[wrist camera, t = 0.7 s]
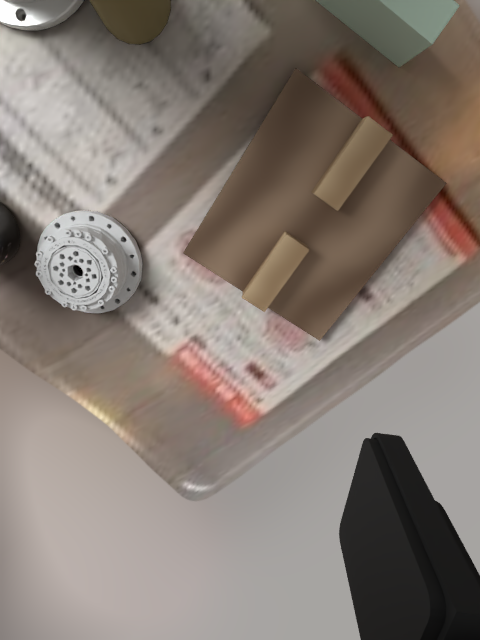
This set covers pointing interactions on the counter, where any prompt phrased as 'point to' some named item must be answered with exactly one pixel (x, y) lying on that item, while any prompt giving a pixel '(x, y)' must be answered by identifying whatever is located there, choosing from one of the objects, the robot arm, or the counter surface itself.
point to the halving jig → (312, 208)
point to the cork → (133, 18)
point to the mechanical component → (88, 262)
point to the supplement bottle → (8, 235)
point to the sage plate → (394, 23)
